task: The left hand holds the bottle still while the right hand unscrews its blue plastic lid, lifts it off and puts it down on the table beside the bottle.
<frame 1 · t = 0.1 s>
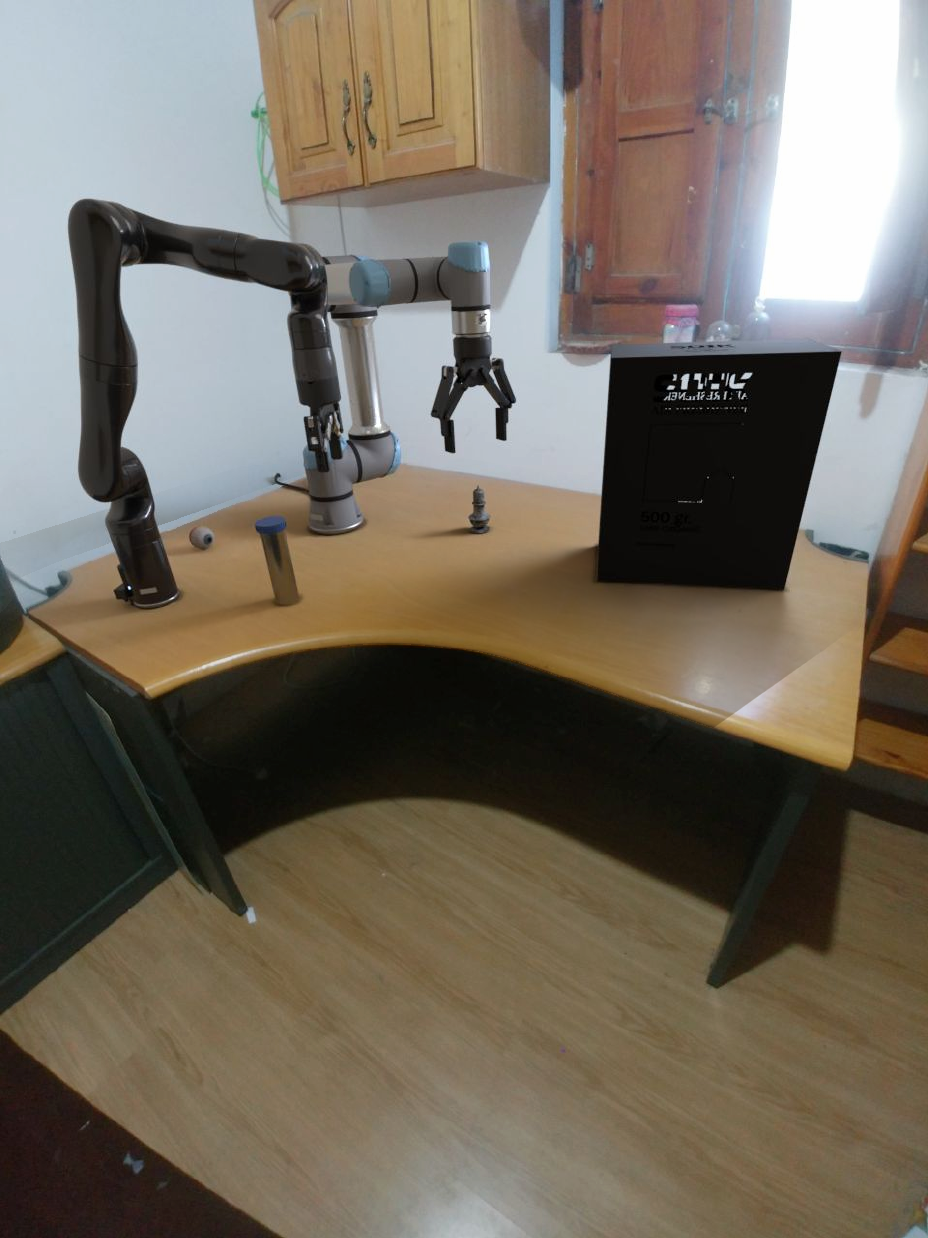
left hand: (331, 465, 115), 29 cm above the table, tool pointing down, fingers open, 8 cm apart
right hand: (476, 445, 127), 28 cm above the table, tool pointing down, fingers open, 13 cm apart
eyeball: (205, 548, 159), on the table
lid: (270, 522, 122), point 18 cm above the table, screwed on, not yet turned
cardboard box: (682, 565, 136), on the table
bottle: (287, 600, 131), on the table
grey tall turned piece: (479, 529, 161), on the table
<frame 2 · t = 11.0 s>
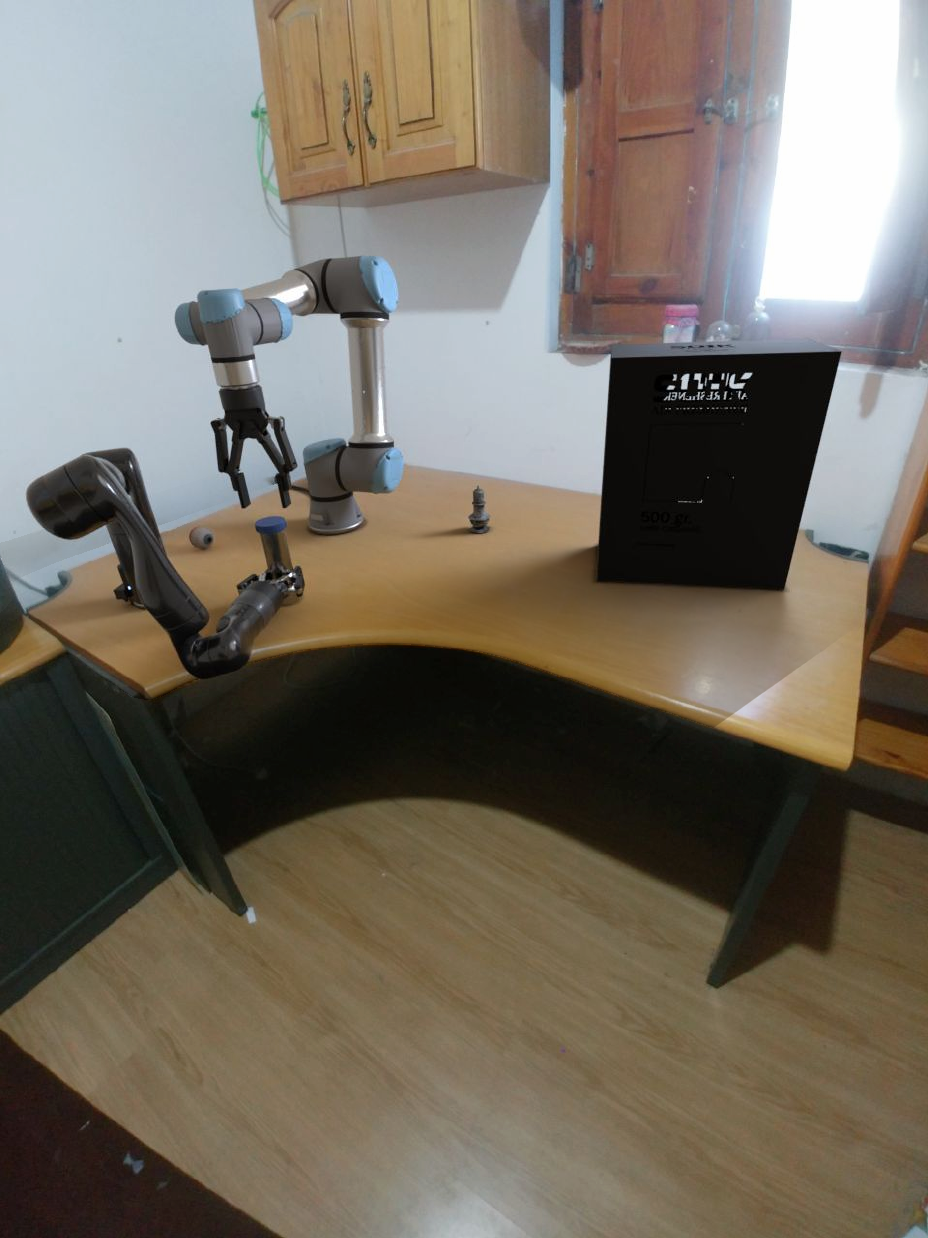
left hand: (286, 569, 131), 6 cm above the table, tool horizontal, fingers closed on bottle, 5 cm apart
right hand: (266, 505, 121), 21 cm above the table, tool pointing down, fingers open, 8 cm apart
bottle: (287, 600, 131), on the table, touching left hand
everything else where it was.
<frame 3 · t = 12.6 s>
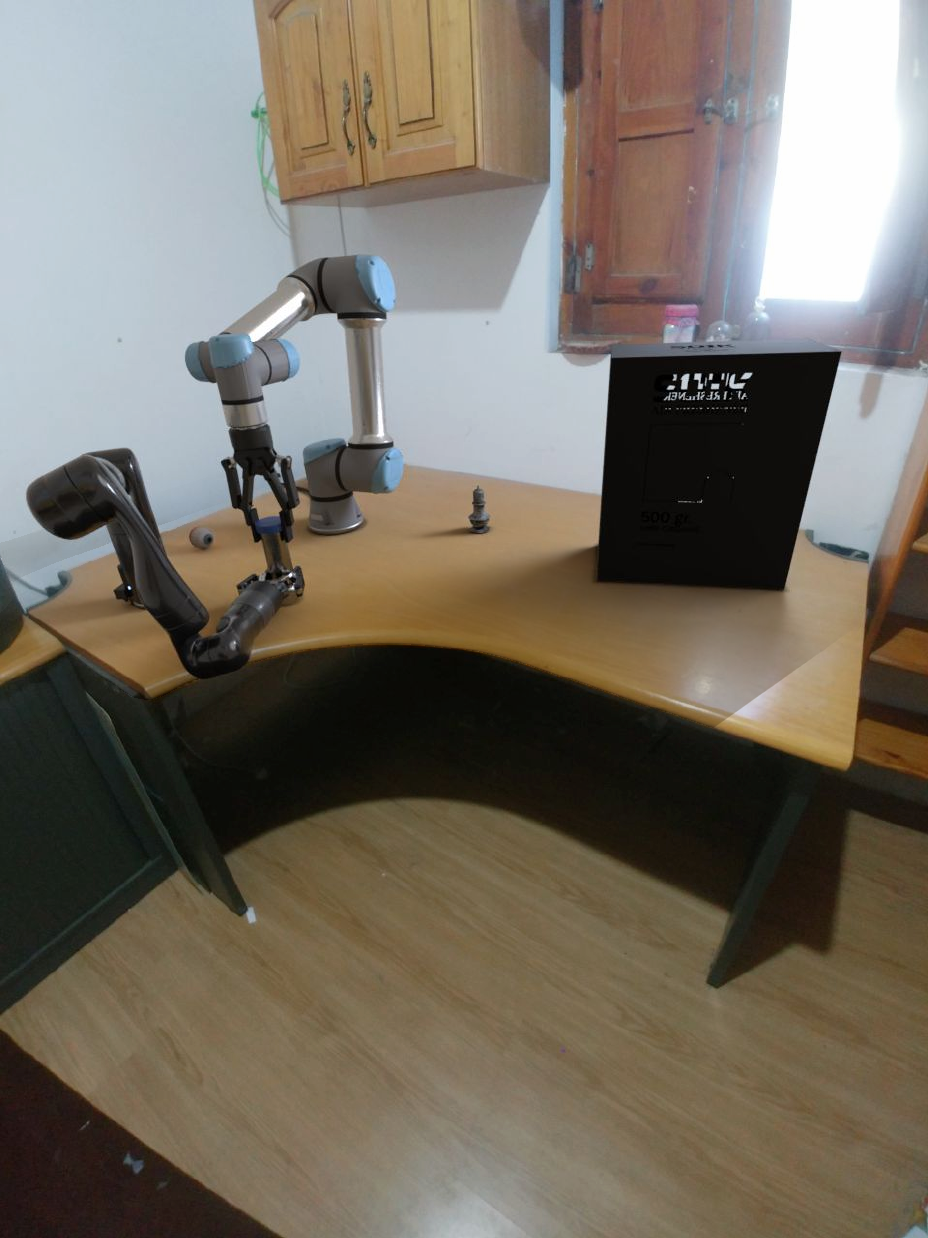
left hand: (286, 569, 131), 6 cm above the table, tool horizontal, fingers closed on bottle, 5 cm apart
right hand: (274, 540, 124), 14 cm above the table, tool pointing down, fingers closed on lid, 6 cm apart
lid: (270, 522, 122), point 18 cm above the table, screwed on, not yet turned, touching right hand
bottle: (287, 600, 131), on the table, touching left hand
everything else where it was.
when the right hand's fingers open (14 cm above the table, at t = 14.0 s): lid stays where it is, point 18 cm above the table.
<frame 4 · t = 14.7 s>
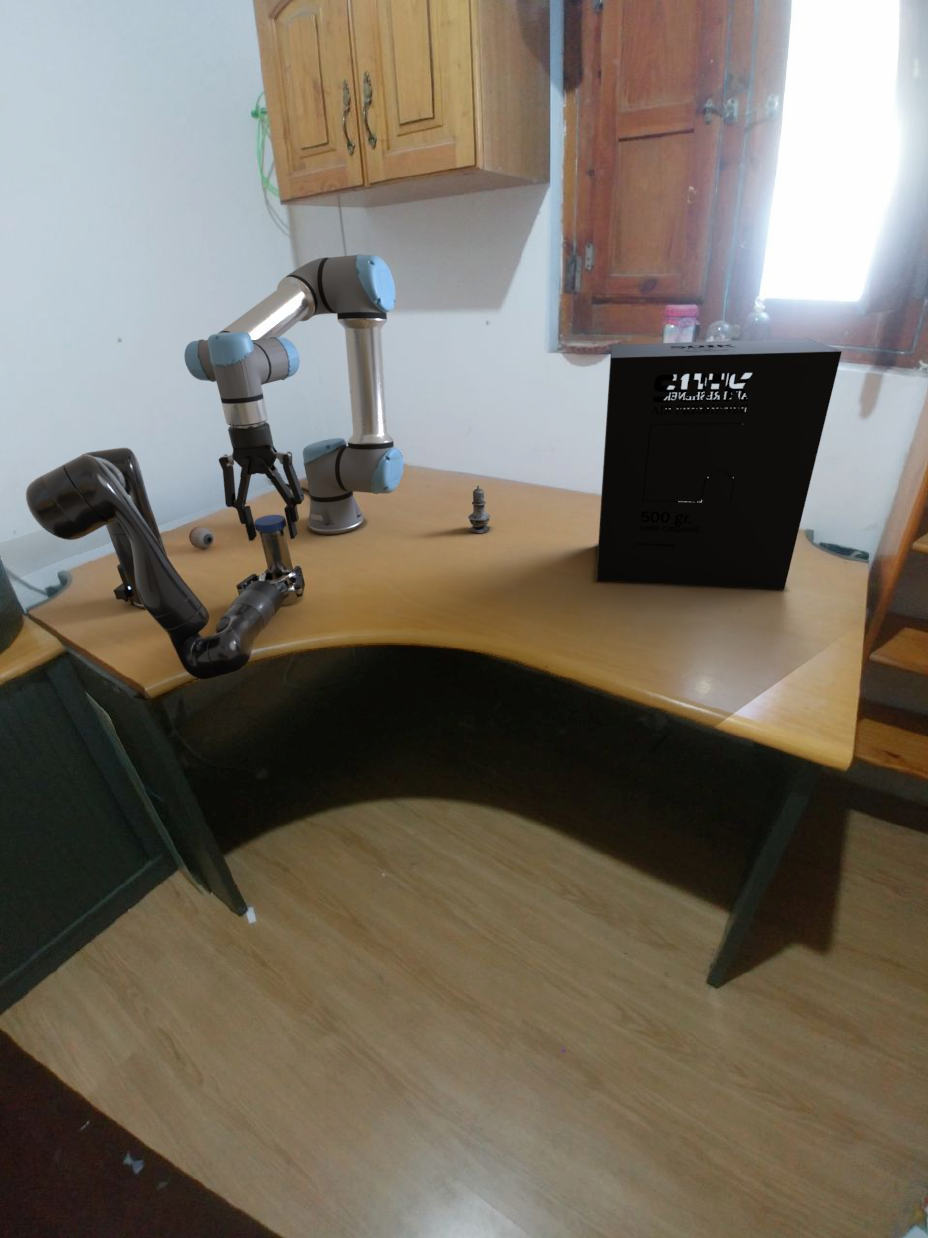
left hand: (286, 570, 131), 6 cm above the table, tool horizontal, fingers closed on bottle, 5 cm apart
right hand: (273, 537, 124), 15 cm above the table, tool pointing down, fingers open, 8 cm apart
lid: (270, 521, 122), point 18 cm above the table, turned 91° so far, risen 0.3 cm, still on its thread
bottle: (287, 600, 131), on the table, touching left hand
everything else where it was.
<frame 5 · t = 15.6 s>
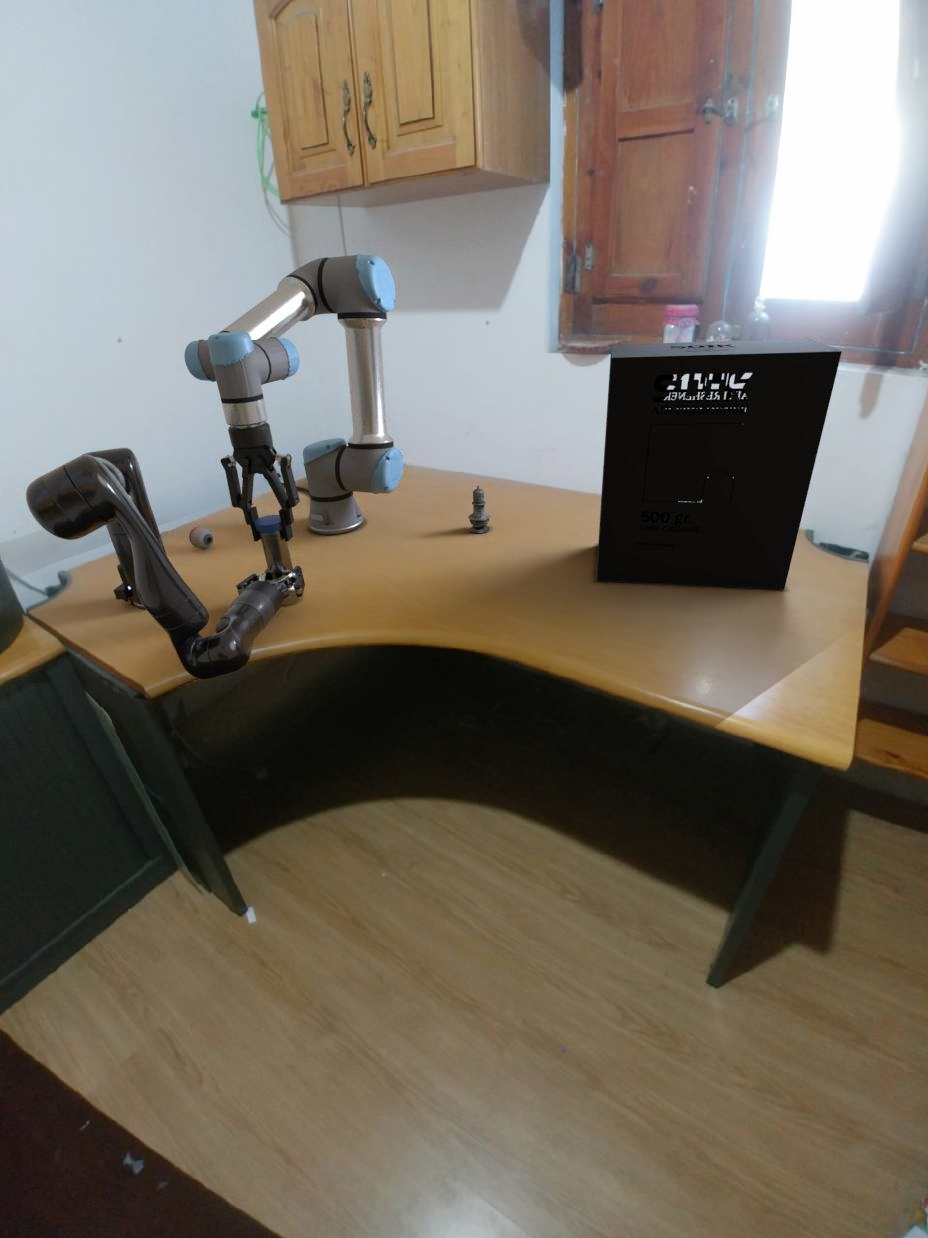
left hand: (286, 570, 131), 6 cm above the table, tool horizontal, fingers closed on bottle, 5 cm apart
right hand: (273, 538, 124), 14 cm above the table, tool pointing down, fingers closed on lid, 6 cm apart
lid: (270, 521, 122), point 18 cm above the table, turned 91° so far, risen 0.3 cm, still on its thread, touching right hand
bottle: (287, 600, 131), on the table, touching left hand
everything else where it was.
when the right hand's fingers open (1 cm above the table, at t = 21.7 s): lid drops 3 cm, point 1 cm above the table.
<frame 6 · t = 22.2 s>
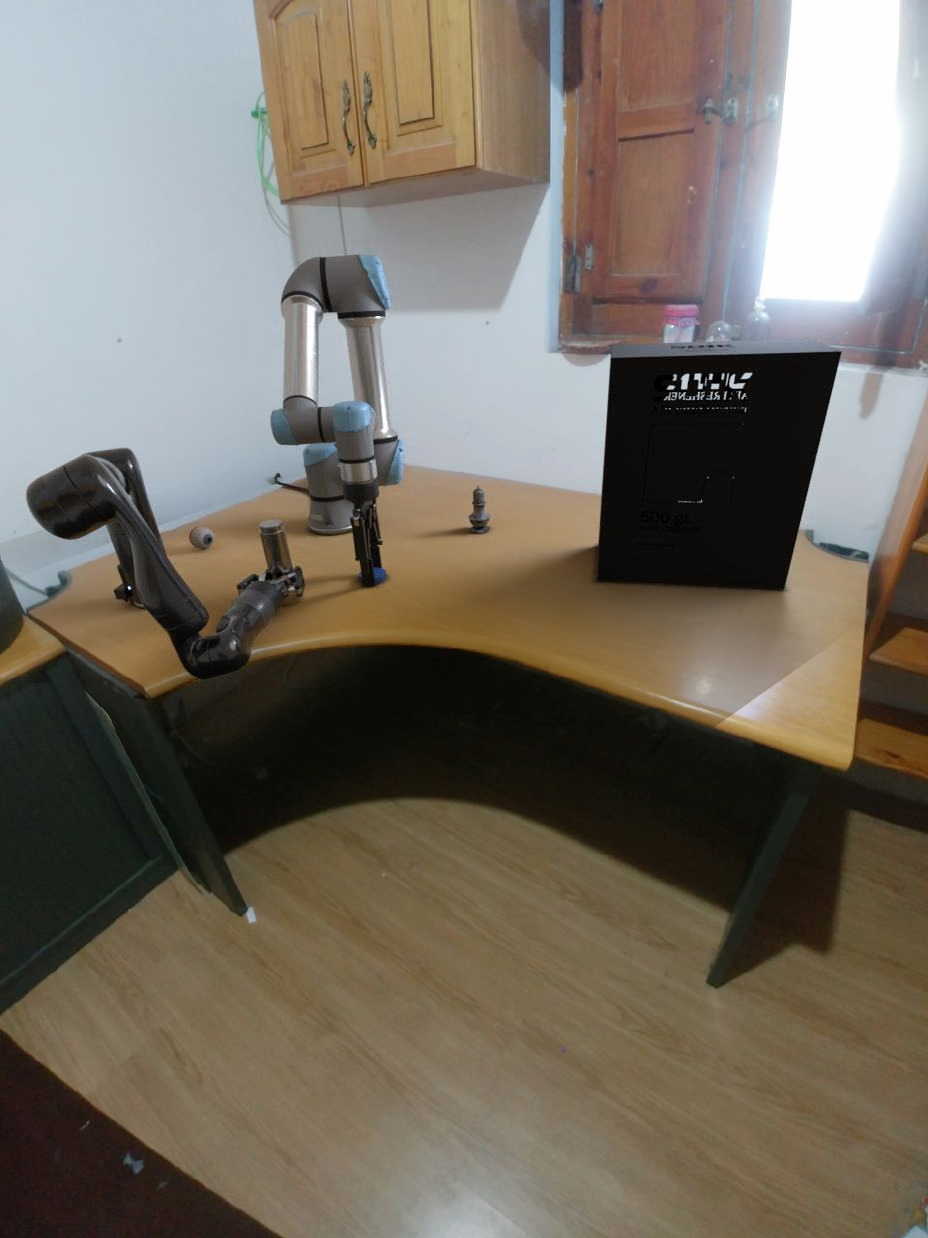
left hand: (286, 569, 131), 6 cm above the table, tool horizontal, fingers closed on bottle, 5 cm apart
right hand: (373, 578, 138), 0 cm above the table, tool pointing down, fingers open, 6 cm apart
lid: (372, 574, 138), point 1 cm above the table, off its thread
bottle: (287, 600, 131), on the table, touching left hand
everything else where it was.
when the left hand's fingers open (6 cm above the table, at t = 23.6 s): bottle stays where it is, on the table.
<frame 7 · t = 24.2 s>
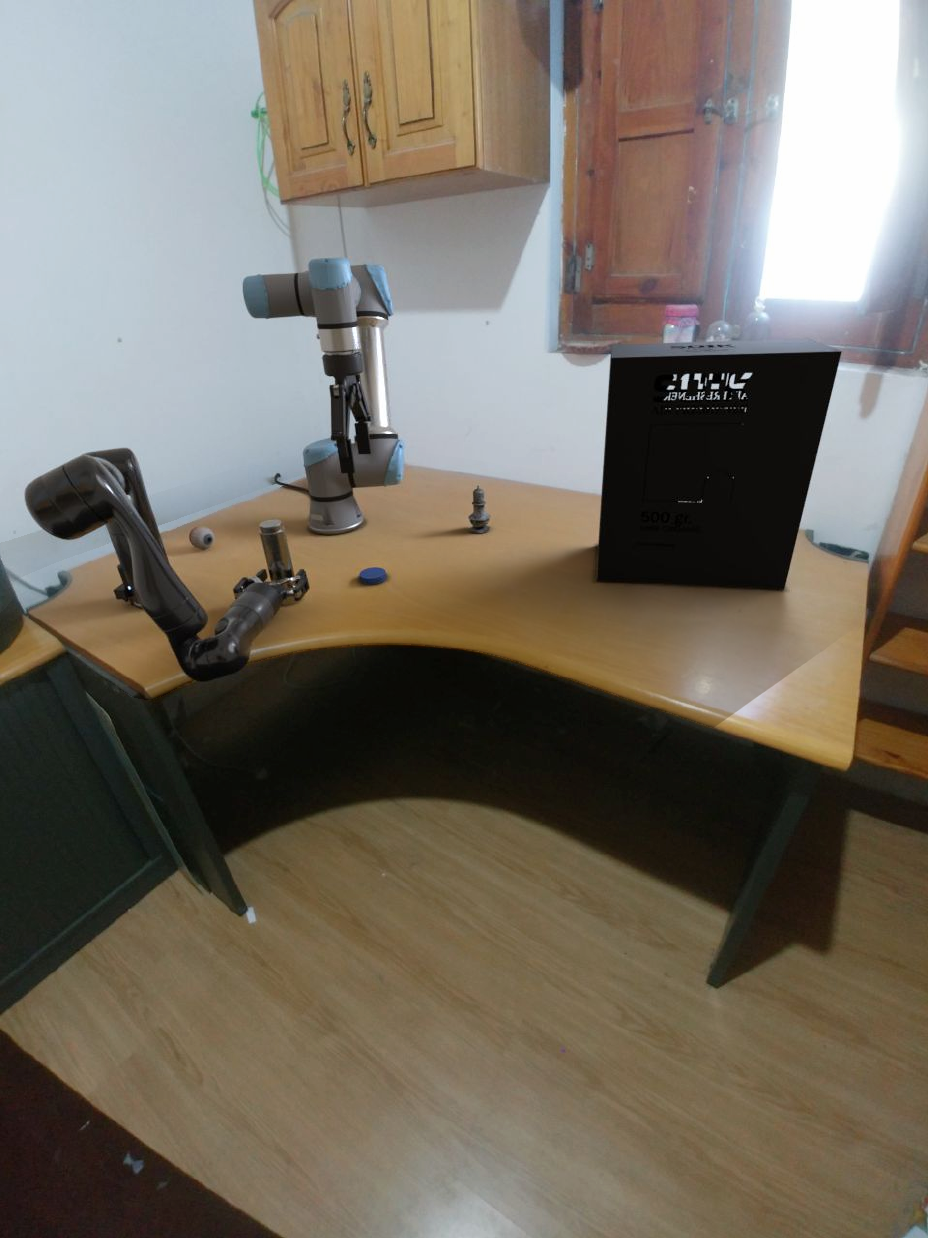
left hand: (284, 572, 129), 6 cm above the table, tool horizontal, fingers open, 8 cm apart
right hand: (357, 462, 125), 27 cm above the table, tool pointing down, fingers open, 13 cm apart
bottle: (287, 600, 131), on the table
everything else where it was.
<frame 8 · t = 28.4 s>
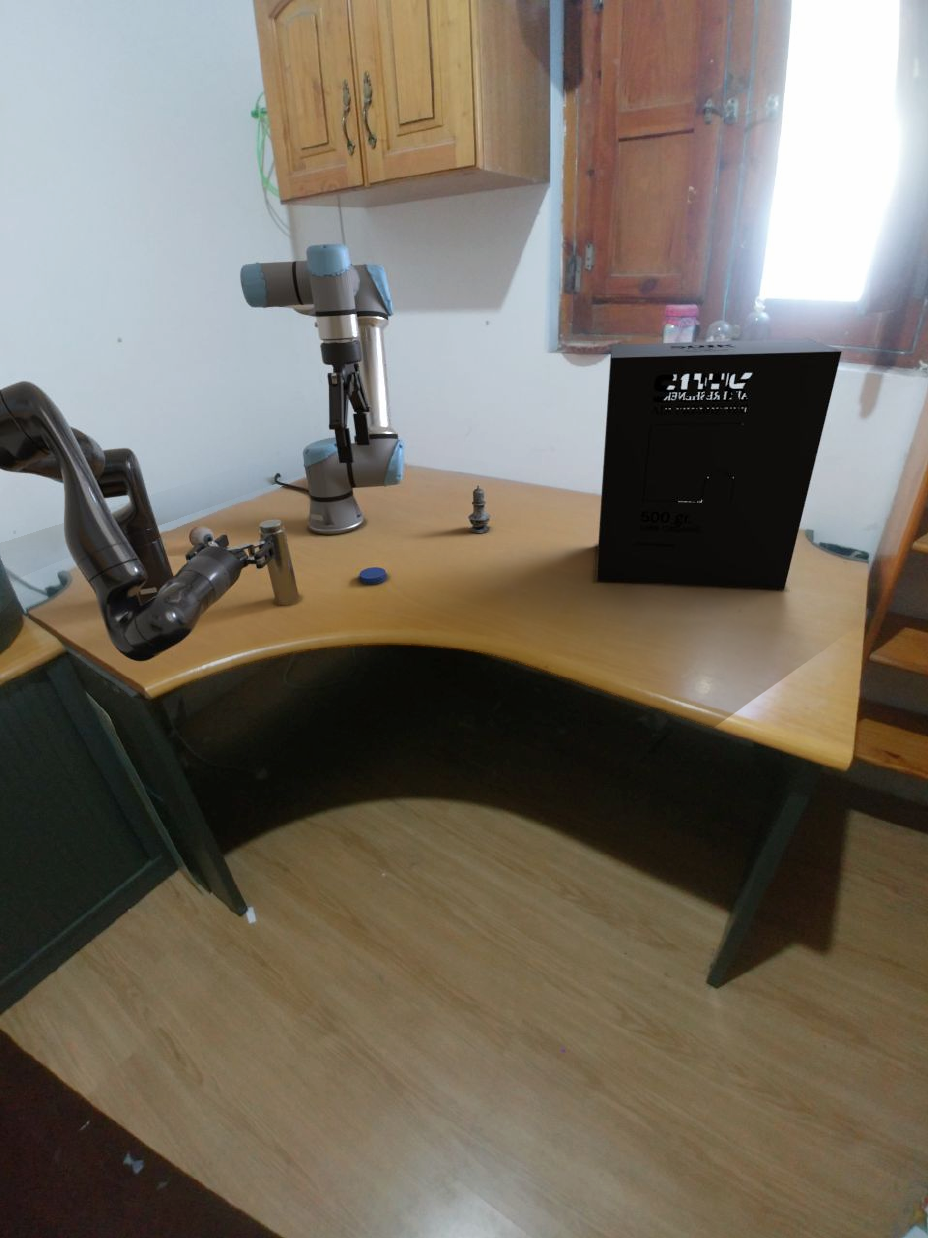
left hand: (247, 539, 113), 19 cm above the table, tool horizontal, fingers open, 8 cm apart
right hand: (355, 453, 124), 29 cm above the table, tool pointing down, fingers open, 13 cm apart
nothing on the table moved.
at the end: lid came off its thread; lid point 1.2 cm above the table; the left hand is holding nothing; the right hand is holding nothing; bottle tilted 0°; bottle moved 0.0 cm from its start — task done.
